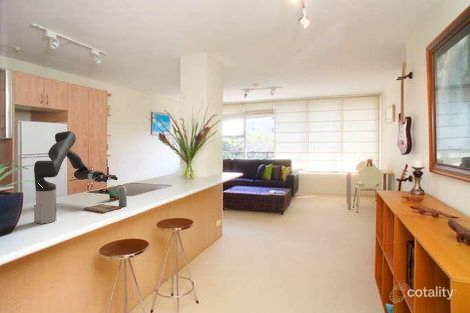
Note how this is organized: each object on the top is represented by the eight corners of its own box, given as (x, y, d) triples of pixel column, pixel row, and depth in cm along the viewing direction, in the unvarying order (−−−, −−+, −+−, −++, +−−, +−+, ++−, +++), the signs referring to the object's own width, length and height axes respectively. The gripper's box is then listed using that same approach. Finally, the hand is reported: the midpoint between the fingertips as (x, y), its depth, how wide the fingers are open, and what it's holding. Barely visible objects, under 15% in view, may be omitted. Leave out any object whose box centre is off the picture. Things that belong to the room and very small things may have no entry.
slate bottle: (122, 207, 186) (122, 187, 185) (117, 206, 188) (116, 186, 187) (128, 206, 190) (128, 186, 190) (122, 205, 192) (122, 185, 192)
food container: (115, 201, 205) (115, 187, 204) (108, 200, 206) (108, 187, 205) (125, 198, 217) (125, 185, 216) (118, 197, 218) (118, 185, 217)
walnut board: (103, 213, 170) (103, 211, 170) (83, 210, 177) (83, 208, 177) (121, 208, 183) (121, 206, 183) (101, 205, 190) (101, 203, 190)
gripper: (87, 172, 192) (103, 175, 185) (105, 169, 205) (120, 172, 198) (87, 182, 193) (102, 186, 186) (105, 179, 206) (120, 183, 199)
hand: (112, 179), depth 192 cm, fingers open, 8 cm apart
